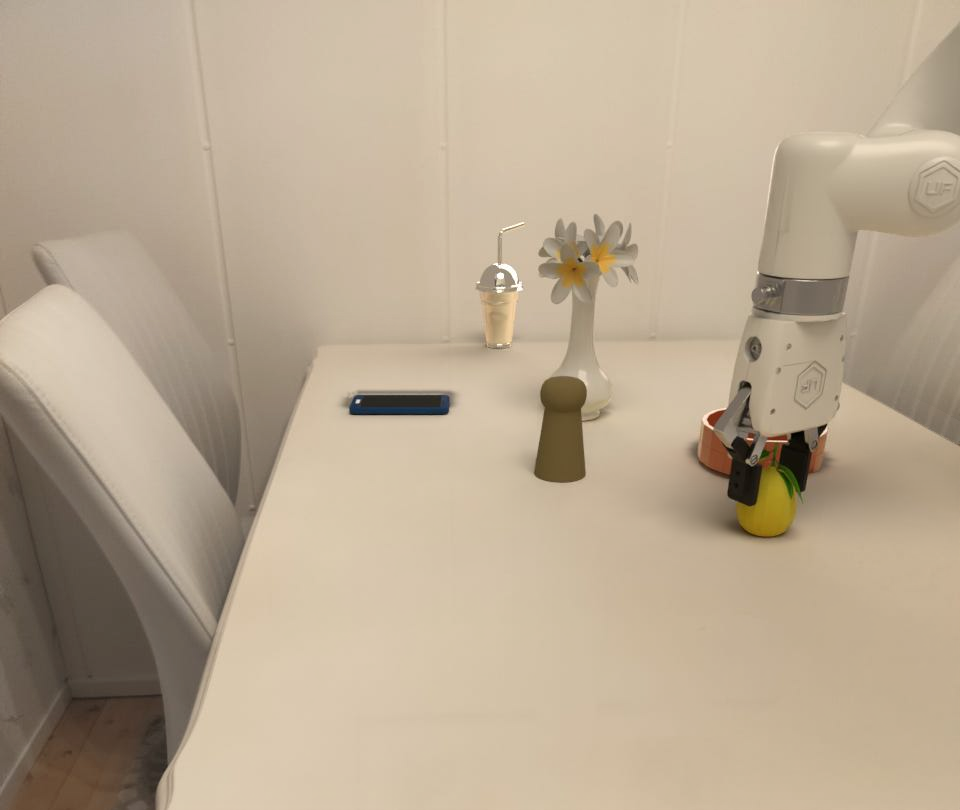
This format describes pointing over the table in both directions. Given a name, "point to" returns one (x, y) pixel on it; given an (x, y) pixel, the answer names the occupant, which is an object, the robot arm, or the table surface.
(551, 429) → the olive game pawn
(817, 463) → the bowl
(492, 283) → the cup with straw
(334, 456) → the table surface
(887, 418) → the table surface
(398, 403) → the cell phone
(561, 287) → the flower vase
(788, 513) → the lemon
